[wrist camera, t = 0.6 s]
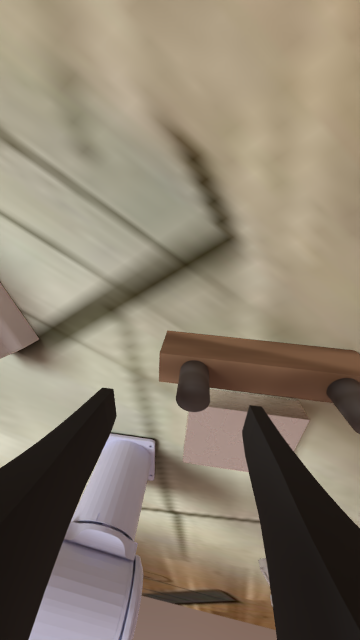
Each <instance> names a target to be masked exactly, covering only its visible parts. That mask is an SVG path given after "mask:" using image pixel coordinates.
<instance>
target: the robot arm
mask: <svg viewBox="0 0 360 640" xmlns="http://www.w3.org/2000/svg"><path fill="white" fill-rule="evenodd" d="M115 419H116V407H115V399H114V391H113V389H108V388H102V389H100V390H99V391H98V392H97V393H96V394H95V395H94V396H92V397H91V398H90V399H89V400H88V401H87V402H86V403H85V404H83V405H82V406H81V407H80V408H79V409H78V410H77V411H75V412H74V413H73V414H72V415H71V416H70V417H68V418H67V419H66V420H65V421H64V422H63V423H61V424H60V425H59V426H58V427H56V428H55V429H54V430H53V431H51V432H50V433H49V434H48V435H46V436H45V437H44V438H42V439H41V440H40V441H38V442H37V443H36V444H34V445H33V446H32V447H30V448H29V449H28V450H26V451H25V452H23V453H22V454H21V455H19V456H18V457H16V458H15V459H13V460H12V461H10V462H9V463H7V464H6V465H4V466H3V467H1V468H0V640H133V636H134V632H135V627H136V623H137V618H138V613H139V607H140V601H141V594H142V585H143V568H142V564H141V559H140V557H139V556H138V555H135V554H136V549H137V544H138V543H137V542H134V539H135V535H136V530H137V526H138V521H139V516H140V512H141V507H142V503H143V498H144V493H145V489H146V484H147V480H150V481H153V480H154V477H155V441H154V440H152V439H146V438H139V437H132V436H125V435H118V434H111V430H112V427H113V425H114V422H115ZM242 437H243V445H244V452H245V458H246V462H247V466H248V471H249V475H250V479H251V484H252V488H253V492H254V496H255V501H256V505H257V509H258V514H259V519H260V524H261V529H262V536H263V542H264V548H265V555H266V561H267V568H268V575H269V582H270V589H271V596H272V604H273V611H274V619H275V627H276V634H277V640H360V528H359V527H358V526H357V525H356V524H355V523H354V522H353V521H352V520H351V519H350V518H349V517H348V516H347V515H346V513H345V512H344V511H343V510H342V509H341V508H340V507H339V506H338V505H337V504H336V502H335V501H334V500H333V499H332V498H331V497H330V496H329V494H328V493H327V492H326V491H325V490H324V489H323V488H322V486H321V485H320V484H319V483H318V482H317V480H316V479H315V478H314V477H313V476H312V474H311V473H310V472H309V471H308V469H307V468H306V467H305V466H304V464H303V463H302V462H301V460H300V459H299V458H298V457H297V455H296V454H295V453H294V451H293V450H292V449H291V447H290V446H289V445H288V443H287V442H286V441H285V439H284V438H283V436H282V435H281V434H280V432H279V431H278V429H277V428H276V426H275V425H274V424H273V422H272V421H271V419H270V418H269V416H268V415H267V413H266V412H265V410H264V409H263V408H262V406H253V405H249V408H248V412H247V415H246V419H245V423H244V426H243V430H242ZM100 454H101V455H100ZM99 456H100V458H99ZM98 459H99V460H98ZM97 461H98V462H97ZM96 463H97V464H96ZM95 465H96V466H95ZM94 467H95V469H94ZM93 469H94V471H93ZM92 471H93V473H92ZM91 473H92V475H91ZM90 475H91V478H90V480H89V482H88V484H87V486H86V489H85V491H84V493H83V495H82V497H81V494H82V492H83V490H84V488H85V485H86V483H87V481H88V479H89V477H90ZM80 497H81V500H80V502H79V499H80ZM78 502H79V504H78ZM77 504H78V506H77ZM76 507H77V508H76ZM75 509H76V511H75ZM74 512H75V513H74ZM73 514H74V515H73ZM71 519H72V520H71Z"/></svg>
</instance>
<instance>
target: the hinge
mask: <svg viewBox="0 0 360 640" xmlns="http://www.w3.org/2000/svg"><path fill="white" fill-rule="evenodd" d="M37 340H39V338H38V336H37V335H36V333H35V332H34V331H33V329H32V328H31V326H30V325H29V323H28V322H27V320H26V319H25V318H24V316H23V315H22V313H21V312H20V310H19V309H18V307H17V306H16V305H15V303H14V302H13V300H12V299H11V297H10V296H9V294H8V293H7V292H6V290H5V289H4V287H3V286H2V284H1V283H0V358H3V357H5V356H7V355H10V354H12V353H15V352H17V351H19V350H21V349H23V348H25V347H27V346H29V345H30V344H32V343H34V342H36V341H37Z"/></svg>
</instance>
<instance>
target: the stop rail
mask: <svg viewBox="0 0 360 640" xmlns="http://www.w3.org/2000/svg"><path fill="white" fill-rule="evenodd" d="M159 381H160V382H169V383H177V384H178V388H177V395H176V401H177V404H178V405H179V406H180V407H181V408H182V409H184V410H186V411H189V412H200V411H203V410H205V409H206V408H207V407H208V406H209V404H210V388H217V389H225V390H233V391H241V392H249V393H257V394H265V395H273V396H281V397H290V398H298V399H306V400H314V401H322V402H330V403H334V405H335V406H336V407H337V409H338V410H339V411H340V412H341V414H342V415H343V416H344V418H345V419H346V420H347V421H348V423H349V424H350V425H351V427H352V428H353V429H354V430H355V431H356V432H357V433H359V434H360V354H358V353H357V352H356V351H353V350H344V349H335V348H325V347H316V346H306V345H297V344H288V343H278V342H269V341H259V340H250V339H241V338H231V337H222V336H213V335H203V334H194V333H184V332H175V331H167V334H166V336H165V339H164V342H163V345H162V348H161V351H160V363H159Z"/></svg>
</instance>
